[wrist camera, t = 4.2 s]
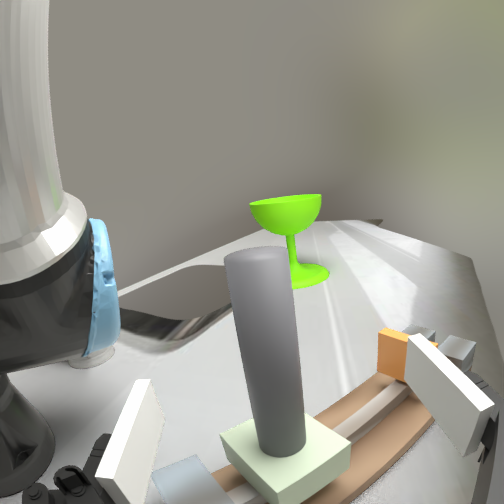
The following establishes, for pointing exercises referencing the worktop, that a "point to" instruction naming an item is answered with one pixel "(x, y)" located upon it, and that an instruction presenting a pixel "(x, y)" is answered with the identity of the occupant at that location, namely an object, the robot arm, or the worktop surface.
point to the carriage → (275, 387)
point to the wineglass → (292, 231)
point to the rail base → (365, 449)
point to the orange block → (393, 353)
